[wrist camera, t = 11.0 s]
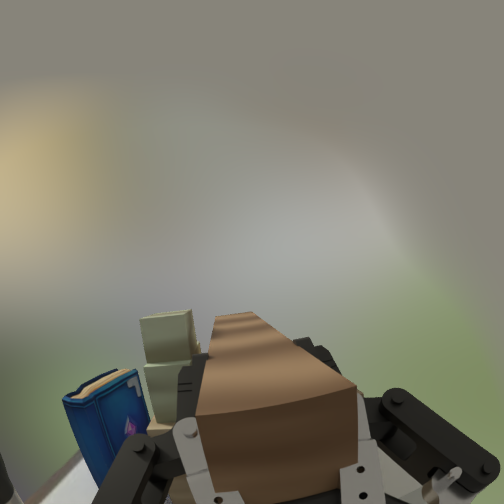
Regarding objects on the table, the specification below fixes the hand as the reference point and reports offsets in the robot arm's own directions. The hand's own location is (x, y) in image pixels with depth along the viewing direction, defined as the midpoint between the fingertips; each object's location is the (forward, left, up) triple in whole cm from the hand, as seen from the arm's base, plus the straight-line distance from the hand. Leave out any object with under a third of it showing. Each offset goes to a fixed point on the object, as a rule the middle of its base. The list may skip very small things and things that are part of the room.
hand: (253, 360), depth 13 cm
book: (+9, +49, -37) cm, 62 cm away
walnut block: (+4, +4, -3) cm, 7 cm away
